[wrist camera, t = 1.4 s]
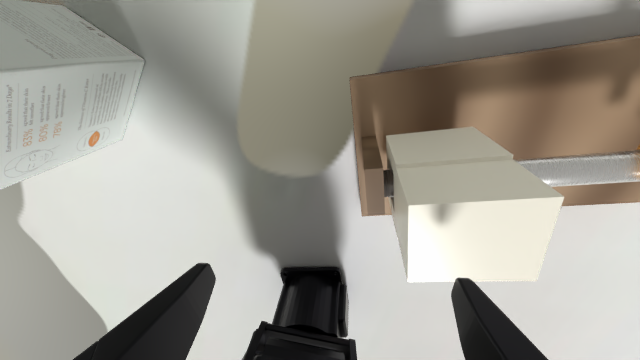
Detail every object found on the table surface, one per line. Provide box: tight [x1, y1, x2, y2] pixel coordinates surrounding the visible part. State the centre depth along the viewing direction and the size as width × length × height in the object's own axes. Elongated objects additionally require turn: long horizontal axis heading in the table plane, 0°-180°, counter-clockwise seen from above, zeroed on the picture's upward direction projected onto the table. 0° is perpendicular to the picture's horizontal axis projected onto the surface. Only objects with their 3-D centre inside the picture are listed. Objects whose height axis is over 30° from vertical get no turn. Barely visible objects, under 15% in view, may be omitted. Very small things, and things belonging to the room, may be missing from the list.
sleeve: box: [386, 127, 564, 282], centre depth 13 cm, size 5×4×8 cm
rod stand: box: [350, 35, 640, 216], centre depth 15 cm, size 22×11×8 cm, turn 99°
